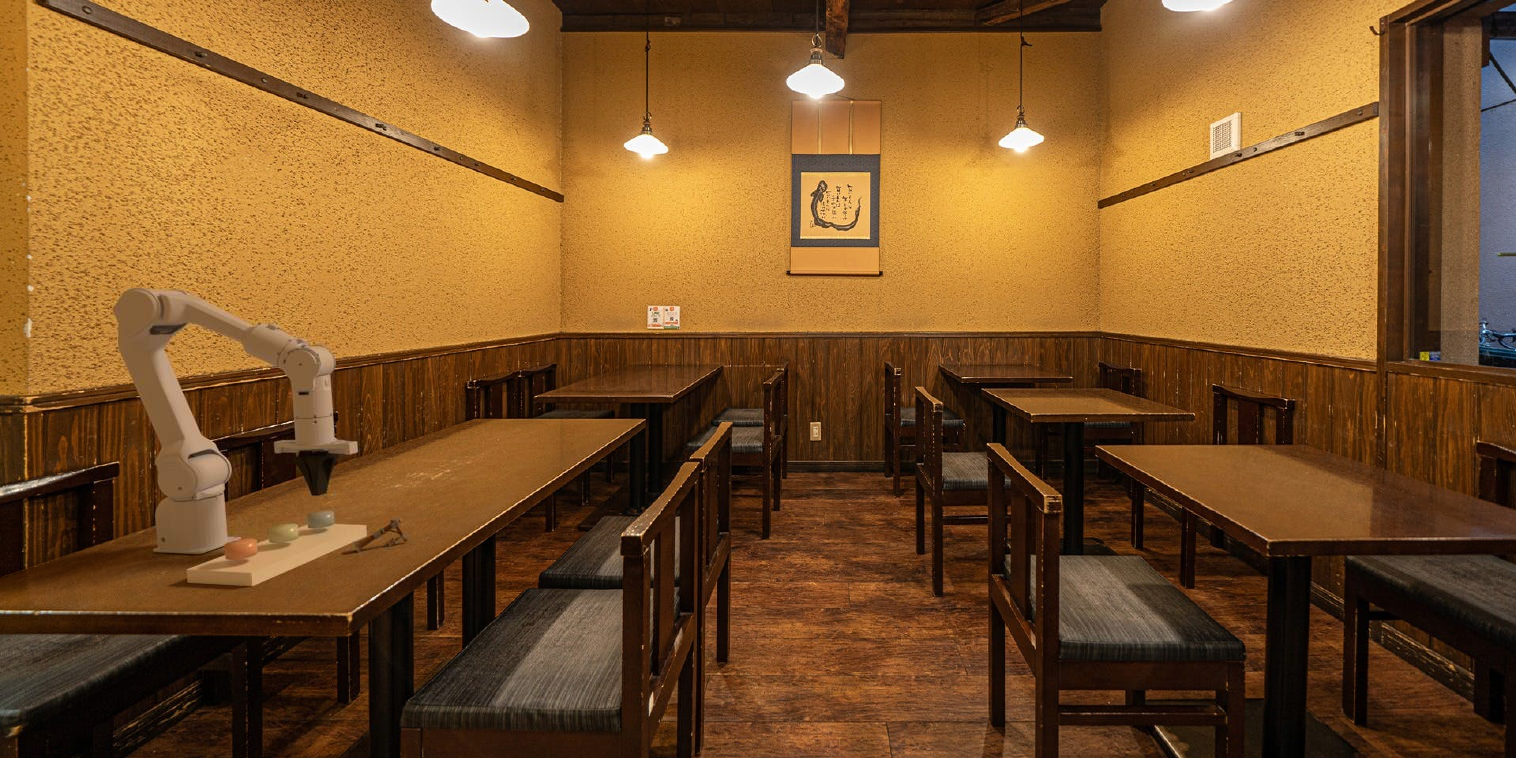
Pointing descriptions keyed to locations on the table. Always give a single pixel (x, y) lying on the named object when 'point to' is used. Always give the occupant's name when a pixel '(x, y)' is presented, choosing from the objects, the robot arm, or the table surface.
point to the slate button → (320, 519)
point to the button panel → (276, 556)
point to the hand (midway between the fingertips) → (319, 494)
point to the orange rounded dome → (240, 549)
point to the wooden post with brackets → (379, 533)
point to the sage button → (283, 533)
